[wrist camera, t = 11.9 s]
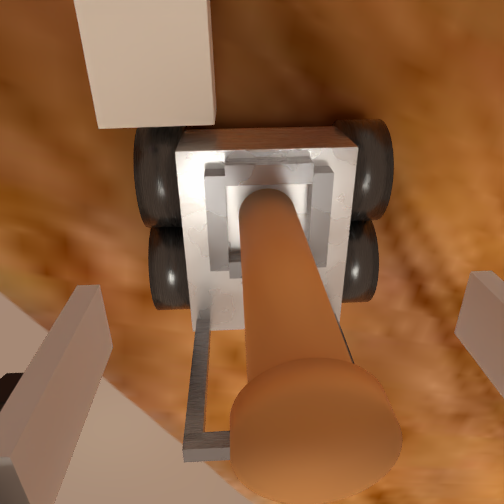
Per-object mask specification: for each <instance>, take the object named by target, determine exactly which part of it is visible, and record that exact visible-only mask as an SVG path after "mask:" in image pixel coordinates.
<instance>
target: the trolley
mask: <svg viewBox="0 0 504 504" xmlns="http://www.w3.org/2000/svg"><path fill="white" fill-rule="evenodd" d="M393 169H394V161H393V148H392V141H391V137H390V133H389V130H388V128H387V126H386V124H385V123H384V122H383V121H382V120H380V119H364V120H336V121H335V122H334V123H333V125H332V126H327V127H284V128H241V129H198V130H186V128H185V126H166V127H138V128H137V131H136V135H135V141H134V180H135V189H136V196H137V202H138V207H139V211H140V214H141V217H142V220H143V222H144V224H145V226H146V227H151V231H150V238H149V256H148V259H149V279H150V288H151V294H152V299H153V302H154V305H155V307H156V309H157V310H172V309H191V317H192V327H193V331H195V339H194V349H193V358H192V367H191V376H190V385H189V394H188V403H187V412H186V422H185V431H184V440H183V449H182V450H183V457H184V462H199V461H217V460H230V431H219V432H205V421H206V404H207V387H208V370H209V353H210V336H211V330H235V329H245V323H244V305H243V287H242V268H241V250H240V231H239V209H240V206H241V204H242V202H243V201H244V200H245V198H246V197H247V196H248V195H250V194H251V193H253V192H255V191H257V190H260V189H266V188H271V189H276V190H279V191H281V192H283V193H285V194H286V195H287V196H288V197H289V198H290V199H291V201H292V202H293V204H294V207H295V210H296V213H297V215H298V218H299V221H300V223H301V226H302V229H303V231H304V234H305V237H306V239H307V242H308V245H309V248H310V250H311V253H312V256H313V258H314V261H315V264H316V266H317V269H318V272H319V274H320V277H321V280H322V282H323V285H324V288H325V291H326V293H327V296H328V299H329V301H330V304H331V307H332V309H333V312H334V315H335V317H336V320H337V323H338V326H339V328H340V331H341V334H342V336H343V339H344V342H345V344H346V347H347V350H348V352H349V355H350V358H351V361H352V363H353V364H354V361H353V359H352V356H351V353H350V351H349V348H348V345H347V343H346V340H345V337H344V335H343V332H342V329H341V327H340V324H339V321H340V312H341V303H348V302H368V301H370V300H371V299H372V297H373V295H374V293H375V290H376V286H377V281H378V272H379V253H378V243H377V237H376V233H375V229H374V226H373V223H372V221H371V220H378V219H380V218H381V217H382V215H383V214H384V212H385V210H386V208H387V206H388V202H389V199H390V195H391V190H392V183H393Z"/></svg>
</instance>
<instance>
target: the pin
mask: <svg viewBox="0 0 504 504" xmlns="http://www.w3.org/2000/svg"><path fill="white" fill-rule="evenodd" d="M239 231H240V250H241V268H242V287H243V305H244V323H245V342H246V360H247V379H248V384H247V385H246V386H245V387H244V388H243V389H242V390H241V391H240V393H239V394H238V396H237V397H236V399H235V401H234V403H233V406H232V409H231V413H230V461H231V466H232V469H233V471H234V473H235V475H236V476H237V478H238V479H239V480H240V482H241V483H242V484H243V485H244V486H246V487H247V488H248V489H249V490H251V491H252V492H254V493H256V494H258V495H260V496H262V497H264V498H267V499H270V500H273V501H277V502H281V503H287V504H322V503H328V502H333V501H337V500H341V499H344V498H347V497H350V496H353V495H355V494H357V493H359V492H362V491H363V490H365V489H367V488H369V487H370V486H372V485H373V484H375V483H376V482H378V481H379V480H380V479H381V478H383V477H384V476H385V475H386V474H387V473H388V472H389V471H390V469H391V468H392V467H393V465H394V464H395V462H396V461H397V459H398V457H399V454H400V451H401V448H402V432H401V428H400V425H399V423H398V421H397V419H396V416H395V414H394V412H393V409H392V407H391V405H390V402H389V400H388V398H387V395H386V393H385V391H384V389H383V387H382V385H381V384H380V383H379V381H378V380H377V379H376V378H375V377H374V376H373V375H372V374H371V373H369V372H368V371H366V370H365V369H363V368H361V367H359V366H357V365H355V364H353V363H352V361H351V358H350V355H349V352H348V350H347V347H346V344H345V342H344V339H343V336H342V334H341V331H340V328H339V326H338V323H337V320H336V317H335V315H334V312H333V309H332V307H331V304H330V301H329V299H328V296H327V293H326V291H325V288H324V285H323V282H322V280H321V277H320V274H319V272H318V269H317V266H316V264H315V261H314V258H313V256H312V253H311V250H310V248H309V245H308V242H307V239H306V237H305V234H304V231H303V229H302V226H301V223H300V221H299V218H298V215H297V213H296V210H295V207H294V204H293V202H292V201H291V199H290V198H289V197H288V196H287V195H286V194H285V193H283V192H281V191H279V190H276V189H271V188H266V189H260V190H257V191H255V192H253V193H251V194H250V195H248V196H247V197H246V198H245V200H244V201H243V202H242V204H241V206H240V209H239Z"/></svg>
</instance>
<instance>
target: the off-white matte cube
mask: <svg viewBox="0 0 504 504" xmlns="http://www.w3.org/2000/svg"><path fill="white" fill-rule="evenodd" d="M74 4H75V10H76V15H77V20H78V25H79V30H80V36H81V41H82V46H83V51H84V56H85V61H86V67H87V72H88V77H89V82H90V87H91V93H92V98H93V103H94V108H95V113H96V118H97V124H98V129H106V128H136V127H166V126H196V125H214V124H215V117H216V110H217V108H216V91H215V74H214V58H213V41H212V25H211V8H210V0H74Z"/></svg>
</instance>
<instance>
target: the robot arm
mask: <svg viewBox="0 0 504 504" xmlns="http://www.w3.org/2000/svg"><path fill="white" fill-rule="evenodd" d="M454 333H455V334H456V336H457V337H458V338H459V340H460V341H461V342H462V344H463V345H464V346H465V348H466V349H467V350H468V352H469V353H470V354H471V356H472V357H473V358H474V359H475V361H476V362H477V363H478V365H479V366H480V367H481V369H482V370H483V371H484V373H485V374H486V375H487V377H488V378H489V379H490V381H491V382H492V383H493V385H494V386H495V387H496V389H497V390H498V391H499V393H500V394H501V395H502V397H503V398H504V281H503V280H501V279H500V278H499V277H498V276H497V275H496V274H495V273H494V272H493V271H471V272H470V276H469V280H468V284H467V287H466V291H465V295H464V299H463V302H462V306H461V310H460V314H459V317H458V321H457V325H456V329H455V332H454ZM112 348H113V344H112V340H111V335H110V330H109V326H108V321H107V317H106V312H105V307H104V303H103V298H102V293H101V289H100V285H79V286H77V287H76V288H75V290H74V292H73V293H72V295H71V297H70V298H69V300H68V302H67V303H66V305H65V306H64V308H63V310H62V311H61V313H60V315H59V316H58V318H57V320H56V321H55V323H54V325H53V326H52V328H51V329H50V331H49V333H48V334H47V336H46V338H45V339H44V341H43V343H42V344H41V346H40V348H39V349H38V351H37V352H36V354H35V356H34V357H33V359H32V361H31V362H30V364H29V365H28V367H27V369H26V370H25V372H24V373H7V374H5V375H4V376H3V377H2V378H1V379H0V504H54V503H55V500H56V497H57V495H58V492H59V489H60V487H61V484H62V481H63V479H64V476H65V473H66V471H67V468H68V465H69V463H70V460H71V457H72V455H73V452H74V449H75V447H76V444H77V442H78V439H79V436H80V433H81V431H82V428H83V426H84V423H85V420H86V418H87V415H88V412H89V410H90V407H91V404H92V402H93V399H94V396H95V394H96V391H97V388H98V385H99V383H100V380H101V378H102V375H103V372H104V370H105V367H106V364H107V362H108V359H109V356H110V354H111V351H112Z"/></svg>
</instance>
